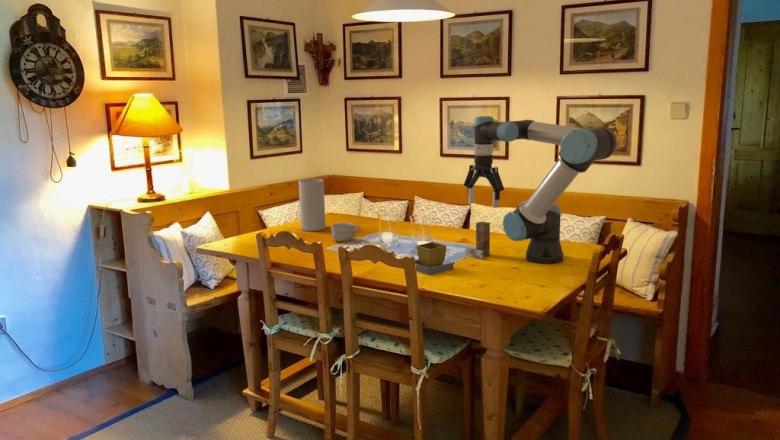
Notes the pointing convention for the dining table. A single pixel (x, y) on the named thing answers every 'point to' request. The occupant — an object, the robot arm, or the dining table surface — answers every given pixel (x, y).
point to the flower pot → (431, 254)
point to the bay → (433, 268)
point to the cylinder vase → (312, 204)
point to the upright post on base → (481, 241)
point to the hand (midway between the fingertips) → (483, 205)
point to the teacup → (344, 231)
